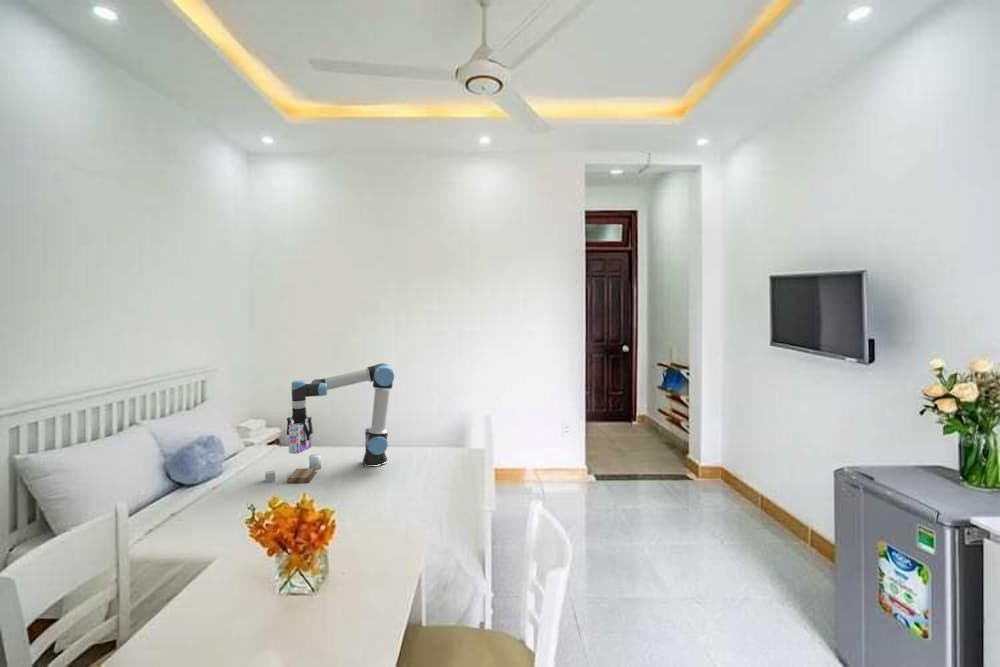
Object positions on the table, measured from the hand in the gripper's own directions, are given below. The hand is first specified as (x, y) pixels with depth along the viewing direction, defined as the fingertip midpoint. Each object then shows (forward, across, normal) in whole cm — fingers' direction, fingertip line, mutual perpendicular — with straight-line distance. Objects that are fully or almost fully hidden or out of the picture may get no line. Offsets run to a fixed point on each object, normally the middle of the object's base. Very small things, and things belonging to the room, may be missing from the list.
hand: (300, 446), depth 297 cm
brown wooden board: (+19, -1, +1) cm, 19 cm away
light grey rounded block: (+19, -4, -16) cm, 25 cm away
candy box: (+3, 0, 0) cm, 3 cm away
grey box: (+19, +16, +5) cm, 25 cm away
